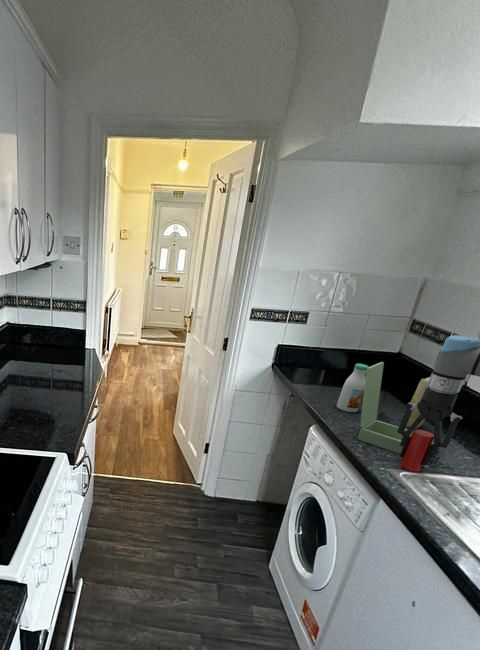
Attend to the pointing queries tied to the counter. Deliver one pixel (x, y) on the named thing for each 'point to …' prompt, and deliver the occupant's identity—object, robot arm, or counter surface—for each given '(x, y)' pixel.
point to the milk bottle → (353, 389)
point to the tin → (416, 450)
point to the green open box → (382, 435)
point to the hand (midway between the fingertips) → (413, 459)
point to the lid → (371, 393)
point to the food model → (416, 399)
